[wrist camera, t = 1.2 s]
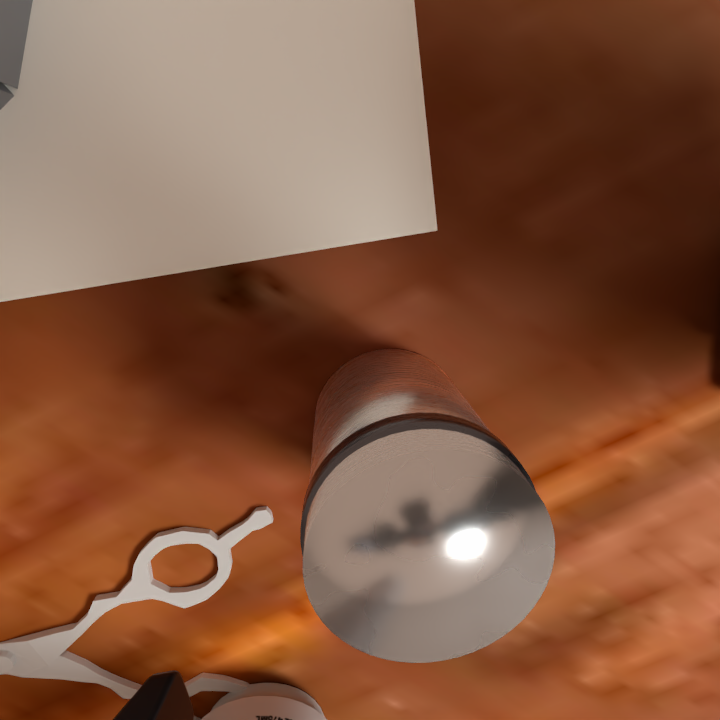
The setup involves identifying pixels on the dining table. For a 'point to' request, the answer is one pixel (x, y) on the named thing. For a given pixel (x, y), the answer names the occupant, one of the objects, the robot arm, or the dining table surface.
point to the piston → (417, 516)
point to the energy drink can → (266, 704)
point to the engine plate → (203, 135)
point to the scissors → (48, 647)
